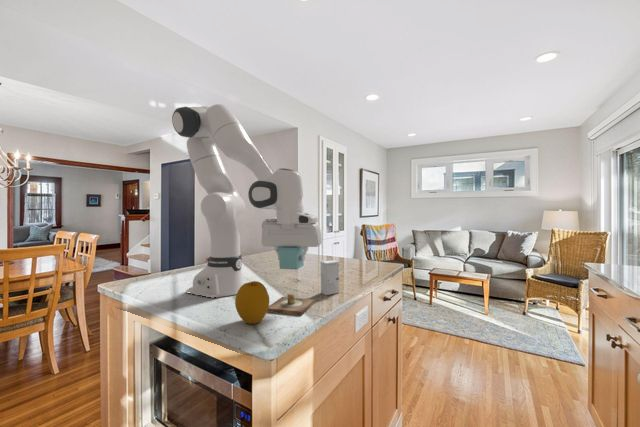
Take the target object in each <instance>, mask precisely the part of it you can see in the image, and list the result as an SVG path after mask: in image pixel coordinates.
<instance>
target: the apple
mask: <svg viewBox="0 0 640 427" xmlns="http://www.w3.org/2000/svg"><path fill="white" fill-rule="evenodd" d="M235 295H236V296H235V300H234V301H235V302H234V304H235V309H236V313H237V315H238V316H239V317H240V319H241V320H242V321H244V322H245V323H246V324H249V325H255V324H258V323H260V322H261V321H263V319H264V318H265V316H266V314H267V313H268V312H267V310H268V308H269V306H270V295H269V293H268V290H267V287H266V286H265V285H264V284H263V283H262V282H260V281H256V280H255V281H249V282H246V283H243V285H242V286H241V287H240V289H239V290H238V292H237V294H235Z"/></svg>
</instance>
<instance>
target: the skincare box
mask: <svg viewBox="0 0 640 427" xmlns="http://www.w3.org/2000/svg"><path fill="white" fill-rule="evenodd" d="M339 265H340V263H339V261H338V260H333V259H331V260H324V261H323V260H322V261H320V293H321V294H322V295H324V296H329V295H335V294H339V293H340V266H339Z"/></svg>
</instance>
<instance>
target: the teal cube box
mask: <svg viewBox="0 0 640 427" xmlns="http://www.w3.org/2000/svg"><path fill="white" fill-rule="evenodd" d="M303 251H304V250H302V247H280V248H279V260H278V262H279V270H299V269H301V268H303V267H304V266H305V263H304V261H305V260H304V261H299V255H302V253H303Z"/></svg>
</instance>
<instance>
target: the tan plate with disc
mask: <svg viewBox="0 0 640 427" xmlns="http://www.w3.org/2000/svg"><path fill="white" fill-rule="evenodd" d="M314 304H315V299H309V298H301V297H296V294H295V293H287V296H281V297H280V298H278V299H277V300H275V301H274V302H272V303H271V304H269V308H268V310H267V313H272V314H283V315H291V316H292V315H294V316H304V314H305V313H306V312H307V311H308V310H309V309H310V308H311V307H312V306H313V305H314Z"/></svg>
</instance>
